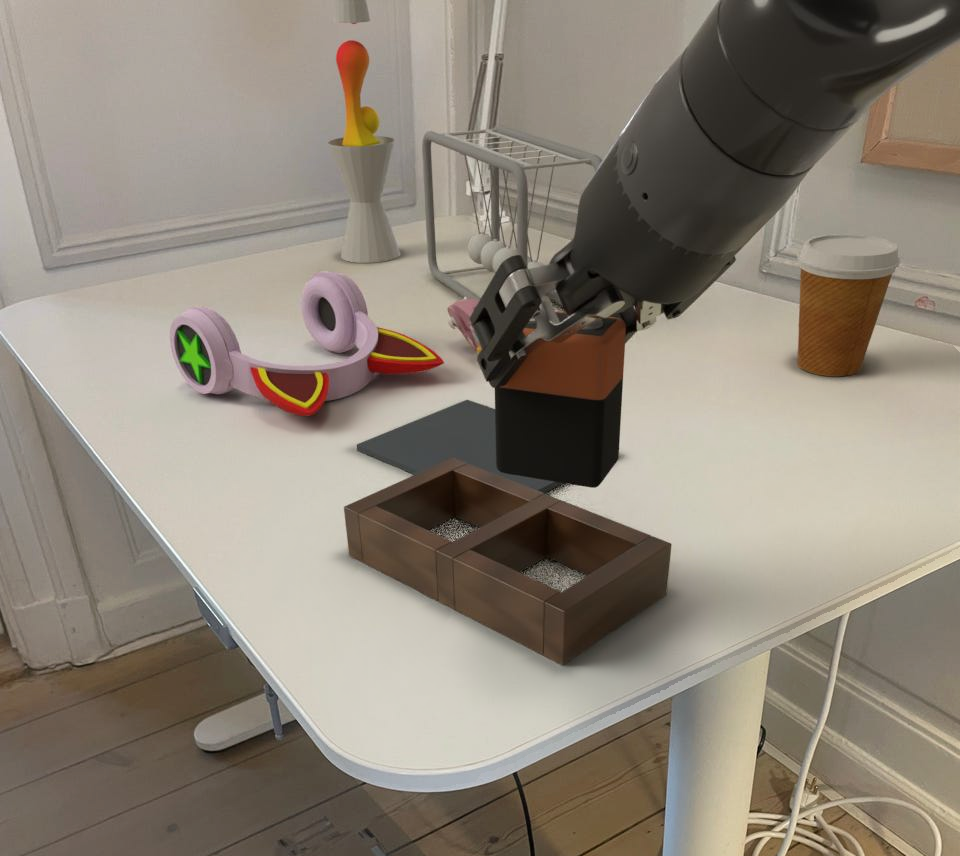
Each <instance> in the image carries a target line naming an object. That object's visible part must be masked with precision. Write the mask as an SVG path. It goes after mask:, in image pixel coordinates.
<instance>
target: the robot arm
mask: <svg viewBox="0 0 960 856" xmlns="http://www.w3.org/2000/svg"><path fill="white" fill-rule="evenodd" d="M959 44H960V0H718V1H717V2H716V3H715V5H714V7H713V8H712V10H711V11H710V13H709V14H708V15H707V16H706V18H705V20H704V21H703V23H702V24H701V25H700V27H699V29H698V30H697V31H696V33H695V34H694V36H693V37H692V39H691V40H690V41H689V43H688V45H687V46H686V47H685V49H684V50H683V52H682V53H681V54H680V55H679V56H678V57H677V58H676V59H675V61H674V62H673V63H672V64H671V65H670V66H669V67H668V68H667V69H666V70H665V71H664V72H663V73H662V74H661V76H659V78H658V79H657V80H656V81H655V83H654V84H653V86H652V87H651V89H650V90H649V92H648V93H647V94H646V96H645V97H644V98H643V100H642V101H641V103H640V105H639V106H638V108H637V109H636V111H635V112H634V113H633V115H632V117H631V118H630V120H629V121H628V123H627V124H626V126H624V128H623V130H622V131H621V133H620V134H619V136H618V137H617V139H616V140H615V142H614V143H613V144H612V146H611V148H610V149H609V150H608V152H607V153H606V155H605V156H604V158H603V159H602V162H601V164H600V165H599V167H598V168H597V170H596V171H595V170H594V173H593V174H592V176H591V177H590V179H589V180H588V182H587V183H586V185H585V187H584V189H583V190H582V193H581V195H580V198H579V202H578V207H577V215H576V222H575V230H574V234H573V235H574V236H573V238H572V239H571V240H570V241H569V242H568V243H567V244H566V245H564V247H562V248H561V249H559V251H557V252H556V253H555V254H554V255H553V256H552V258H551V259H550V261H549V264H544V265H545V266H541V267H536V268H532V269H527V266H526V264H525V262H524V260H523V257H522V256H521V255H515V256H512V257H509V258H507V259H506V260H504V261H503V262H502V263H501V265H500V266H499V268H498V270H497V272H496V273H495V272H494V273H495V274H494V275H493V277H492V278H491V280H490V282H489V284H488V285H487V287H486V289H485V290H484V292H483V293H482V296H480V298H481V299H480V301H479V303H478V304H477V306H476V308H475V309H474V311H473V313H472V315H471V316H470V318H469V320H470V322H471V324H472V327H473V329H474V331H475V333H476V336H477V338H478V340H479V343H480V345H481V347H482V350H481V352H480V353H477V356H476V361H477V363H478V366H479V368H480V370H481V372H482V374H483V377H484V380H485V382H486V383H487V382H488V383H489V385H490V387H491V388H492V389H495V388H496V387H500V386H504V385H506V384H507V383H508V381H509V380H510V379H511V377H512V376H513V375H514V374H515V372H516V371H517V370H518V368H519V367H520V366H521V365H522V363H523V362H524V361H525V360H526V358H527V357H528V356H527V355H529V354H530V353H532V352H533V351H535V350H536V349H538V348H539V347H541V346H542V345H543V344H545V343H546V342H548V341H550V342H555V343H562V342H564V341H565V340H567V339H568V338H570V337H571V336H572V335H574V334H575V333H577V332H578V331H580V330H581V329H583V328H584V327H586V326H587V325H589V324H590V323H592V322H593V321H594V320H596V319H598V318H601V319H605V318H607V317H615V318H620V319H622V320H624V322H625V324H626V336H625V345H626V344H627V343H628V342H629V340H630V339H631V338H632V337H633V336H634V335H635V334H636V333H637V332H640V331H641V332H642V331H645V330H648V329H650V328H651V327H653V325H655V323H656V322H657V317H659V316H661V315H662V314H664V316H665V318H666V319H667V320H672V319H676V318H679V317H680V316H681V315H683V313H685V312H686V310H688V309H689V308H690V306H692V305H693V304H694V303H695V302H696V301H697V300H698V299H699V298H700V297H701V296H702V295H703V294H704V293H705V292H706V291H707V290H708V289H709V288H710V287H711V286H712V285H713V284H714V283H715V282H717V280H718V279H720V277H722V275H723V274H724V273H725V272H727V271H728V270H729V268H730V267H731V266H732V265H734V264H735V263H736V262H737V258H736V255H737V254H738V253H739V252H740V251H741V250H742V249H743V248H744V247H745V246H746V245H747V244H748V243H749V242H750V241H751V239H752V238H753V237H754V236H755V235H756V234H757V233H758V232H759V231H760V230H761V229H762V228H764V227H765V225H766V224H767V223H768V222H770V220H771V219H772V218H773V217H774V216H775V215H776V214H777V213H778V212H779V211H780V210H781V209H782V207H784V206H785V204H786V203H787V202H788V201H789V200H790V198H791V197H792V196H793V194H794V193H795V192H796V190H797V188H798V187H799V186H800V184H801V183H802V181H803V180H804V179H805V177H806V176H807V175H808V173H809V172H810V171H811V170H812V169H813V168H814V167H815V165H816V164H817V163H818V162H819V161H820V160H821V159H822V158H823V157H824V156H825V155H826V154H827V153H828V152H829V151H830V150H831V149H832V148H833V147H834V145H836V144H837V142H839V141H840V139H842V137H843V136H844V135H846V133H847V132H848V131H849V130H850V129H852V127H853V126H854V125H855V124H856V123H857V122H858V121H859V119H860V118H862V117H863V116H864V114H866V113H867V112H868V110H869V109H870V108H871V107H872V106H873V105H874V104H875V103H876V102H878V100H880V99H881V97H883V96H884V95H885V94H886V93H888V92H889V91H890V90H892V89H893V88H894V87H896V86H897V85H898V84H899V83H902V82H903V81H904V80H905V79H906V78H909V77H910V76H911V75H913V74H914V73H915V72H917V71H918V70H920V69H921V68H923V67H924V66H926V65H928V64H929V63H930V62H932V61H934V59H936V58H938V57H939V56H941V55H943V54H944V53H945V52H947V51H948V50H950V49H952V48H953V47H955V46H957V45H959ZM551 291H556V292H557V294H558V297H559V299H560V301H561V303H562V306H561V307H562V308H563V310H564V312H566V313H567V314H568V315H569V317H568V318H566V319H565V320H563V321H562V322H560V321H559V319H558V317H557V315H556V312H555V311H556V309H555V307H554V306H553V304H552V302H551V301H552V300H551V299H549V292H551ZM532 316H534V319H535V321H536V323H537V327H536V329H535V331H533V332H532V333H530V334H529V335H528V336H525V334H524V332H523V329H524V328H525V327H526V325H527V324H528V322H529V321H530V319H531V318H532Z"/></svg>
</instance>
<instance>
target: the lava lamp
mask: <svg viewBox="0 0 960 856" xmlns="http://www.w3.org/2000/svg"><path fill="white" fill-rule="evenodd" d="M331 13H332V15H331V23H333V24H352V25H356V24H359V23H368V22H371V18H370V13H369V8H368V3H367V0H332V12H331ZM335 61H336V66H337V69H338V70H337V71H338V73H339V77H340V81H341V85H342V90H343V93H344V94H343V95H344V103H345V104H344V105H345V130H344V136H343V137H339V138H335V139H330V140H329V141H327V142H328V143H327V145H328V147H329V150H330V152H331V155H332V158H333V160H334V163H335V165H336V167H337V169H338V172H339V174H340V177H341V179H342V182H343V184H344V186H345V189H346V191H347V195H348V197H349V199H350V202H349V209H348V214H347V219H346V225H345V230H344V236H343V241H342V245H341V252H340V258H341V260H343V261H346V262H350V263H357V264H373V263H383V262H387V261H392V260H394V259H397V258H399V257H400V256H401V252H400V249H399V246H398V242H397V240H396V237H395V235H394V231H393V228H392V226H391V224H390V220H389V218H388V215H387V212H386V209H385V206H384V203H383V200H382V197H383V192H384V188H385V184H386V181H387V175H388V171H389V167H390V163H391V158H392V154H393V149H394V145H395V139H394V138H393V137H389V136H382V135H374V134H376V132H377V131H378V130H379V127H380V117H379V114H378V113H377V111H376V110H375V109H374V108H372V107H370V106H362V105H361V104H362V103H361V102H362V101H361V93H362V90H363V89H362V88H363V85H364V80H365V78H366V75H367V72H368V69H369V66H370V56H369V52H368V49H367V48H366V47H365V45H363V43H361V42H359V41H357V40H354V39H353V40H352V39H350V40H346V41H344V42H343V43H341V44H340V46H339V47H338V48H337V51H336V55H335Z"/></svg>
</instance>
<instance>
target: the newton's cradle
mask: <svg viewBox="0 0 960 856" xmlns="http://www.w3.org/2000/svg"><path fill="white" fill-rule="evenodd" d="M479 134H488V135H490V137H480V138H479V137H478V138H470V139H463V138H460V137H457V136H465V135H479ZM488 139H489V142H487V143H486V142H485V143H474V142H471V141H474V140H475V141H476V140H488ZM501 139H503V140H506V141H500V140H501ZM432 143H434V144H436V145H439V146H441V147H444V148H446V149H449V150H451V151H454V152H457V153H459V154H462V155H464V160H465V166H466V170H467V177H468V183H469V188H470V193H471V199H472V202H473V203H472V204H473V210H474V215H475V220H476V226H477V231H478V233H477V234H475V235H474V236H472V237H471V238H470V240H469V242H468V245H467V253H468V256H469V258H470V259H471V260H472V262H474V263H476V264H478V265H482V266H474V267H468V268H460V269H453V270H445V271H442V270H440V269H439V266H438V261H437V249H436V248H437V246H436V245H437V244H436V227H435V226H436V225H435V204H434V183H433V162H432V161H433V160H432ZM503 143H511V144H510V146H508V147H507V146H505V147H499V146H500V144H503ZM514 143H516V144H518V145H517V146H513V144H514ZM482 145H489V148H488V147H485V146H482ZM523 147H524V151H518V152H512V151H513V150H512V149H513V148H523ZM527 148H530V149H532V150H529V151H528V150H527ZM501 149H509V150H510V151H509V152H508V153H507V152H506V153H501V152H499V151H500V150H501ZM533 149H534V150H533ZM421 150H422V152H421V153H422V173H423V191H424V207H425V208H424V212H425V228H426V229H425V230H426V250H427V263H428V267H429V268H428V269H429V271H430V273H431V275H432V276H433V278H435V279H436V280H438V281H439V282H441V283H442V284H443V285H445V286H446V287H448V288H450V290H452V291H453V292H455V293H457V294H458V295H459V296H461V297H462V298H464V297H465V296H466V298H467V299H476V300H479V301H480V299H481V296H479V295H477V294H476V293H474V292H473V291H471V290H470V289H468V288H467V287H466V286H464V285H462V284H461V283H460V282H458V281H457V280H455V279H453V278H452V277H451V276H449V275H451V274H459V273H466V272H473V271H474V272H475V271H482V270H487V271H489V272H492V273H496V272H497V270H498V268H499V266H500V265H501V263H502V262H503V261H504V260H506V259H507V258H509V257H512V256H515V255H521V256H522V257H523V260H524V262H525V264H526V266H527V269H532V268H536V267H541V266H545V265H546V264H544V263H542V262H540V261H538V260H539V257H540V250H541V244H542V238H543V232H544V228H545V221H546V215H547V209H548V204H549V197H550V192H551V186H552V180H553V176H554V175H553V174H554V170H555V169H554V168H555V167H562V166H571V165H572V166H573V165H582V164H586V165H589V166H591V167H593V169H594V172H595V171H596V170H597V168H598V167H599V165H600V164H601V162H602V161H603V159H602V157H600V156H599V155H598V154H595V153H591V152H589V151H585V150H582V149H580V148H575V147H573V146H570V145H565V144H563V143H560V142H556V141H553V140H550V139H547V138H544V137H540V136H537V135H534V134H531V133H528V132H525V131H522V130H518V129H516V128H512V127H509V126H506V125H503V124H497V125H494V127H493V128H485V129H474V130H464V131H453V132H442V133H438V132H435V131H433V130H429V131H426V132H425V133H424V135H423V138H422V142H421ZM534 152H535V153H536V152H538V156H534V157H526V153H534ZM541 153H545V154H548V155H544V156H543V155H542V156H541ZM514 154H523V157H522V158H515V157H512V155H514ZM467 157H469V158H472V159H474V160H476V163H477V170H478V174H479V180H480V185H481V191H482V195H483V200H484V206H485V212H486V217H485V222H484V223H485V224H484V231H481V230H480V225H479V221H478V220H479V219H478V214H477V209H476V203H475V198H474V193H473V192H474V191H473V187H472V181H471V175H470V170H469V166H468V160H467ZM551 157H553V162H545V163H540V158H551ZM556 157H557V158H560V159H563V161H556ZM530 159H537V163H536V164H530V163H528V162H525V160H530ZM564 160H565V161H564ZM479 162H481V163H485V164H487V165H489V170H490V171H489V172H490V173H489V174H490V190H489V191H490V192H489V199H488V204H487V201H486V195H485V190H484V183H483V180H482V174H481V169H480V164H479ZM544 168H551V173H550V178H549V185H548V191H547V195H546V202H545V208H544V214H543V220H542V225H541V231H540V238H539V244H538V248H537V249H538V250H537V256H536V259H533V258H532V252H531V245H530V240H529V239H530V238H529V224H530V220H531V213H532V208H533V207H532V206H533V200H534V195H535V188H536V183H537V182H536V181H537V177H538V169H544ZM534 169H535V175H534V182H533V188H532V195H531V200H530V205H529V204H528V203H529V187H528V185H529V184H528V178H527V175H526V172H525V171H526V170H534ZM500 170H502V173H503V174H502V175H503V180H504V190H503V195H502V203H501V211H500ZM509 174H512V175H513V176H514V179H515V183H516V202H515V209H514V216H513V213H512V208H511V207H512V206H511V203H510V202H511V201H510V195H509V190H508V185H507V184H508V178H509ZM506 197H507V204H508V208H509V215H510V221H511V226H512V227H511V235H510V240H509V245H506V241H505V237H504V231H503V225H502V217H503V211H504V203H505V198H506ZM528 205H529V206H528ZM489 210H490V211H489ZM489 212H490V217H489ZM515 221H516V222H517V223H516V222H515ZM515 223H516V230H515ZM487 224H488V228H489V234H488V233H486V232H487V231H486V229H487ZM500 231H501V232H500ZM515 231H516V232H515ZM501 237H502V241H501ZM513 238H514V243H515V244H514V245H515V248H514V247H511V246H512V241H513ZM528 253H529V255H528ZM549 299H550V301H553V302H554V303H556V304H557V305H559V306H561V307H563V306H562V303H561V301H560V299H559V297H558V294H557V292H556V290H554V291H551V292H549Z"/></svg>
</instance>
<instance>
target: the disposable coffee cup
mask: <svg viewBox="0 0 960 856" xmlns="http://www.w3.org/2000/svg"><path fill="white" fill-rule="evenodd" d="M898 249H899V247H898V244H897V243H895V242H893V241H891V240H889V239H885V238H882V237H878V236H873V235H872V236H871V235H864V234H850V233H849V234H848V233H834V234H833V233H831V234H822V235H817V236H813V237H810V238H807V239H806V240H805V241H804V243H803V246H802V249H801V251H800V252H798V254H797V257H796V259H797V261H798V267H799V268H800V277H799V278H800V279H799V282H800V283H799V307H798V308H799V309H798V310H799V311H798V336H797V337H798V340H797V343H798V344H797V364H796V365H797V366H798V367H799V368H800V369H801V370H803V371H805V372H808V373H811V374H815V375H818V376H825V377H843V376H850V375H855V374H857V373H859V372H860V371H861V369H862V366H863V363H864V360H865V357H866V354H867V351H868V348H869V345H870V342H871V339H872V336H873V333H874V330H875V327H876V325H877V321H878V318H879V314H880V312H881V309H882V306H883V304H884V300H885V297H886V295H887V291H888V288H889V284H890V282H891V279H892V277H893V274H894V273H895V272H896V269H897V268H898V267H899V265H900V264H901V259H900V258H899V250H898Z"/></svg>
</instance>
